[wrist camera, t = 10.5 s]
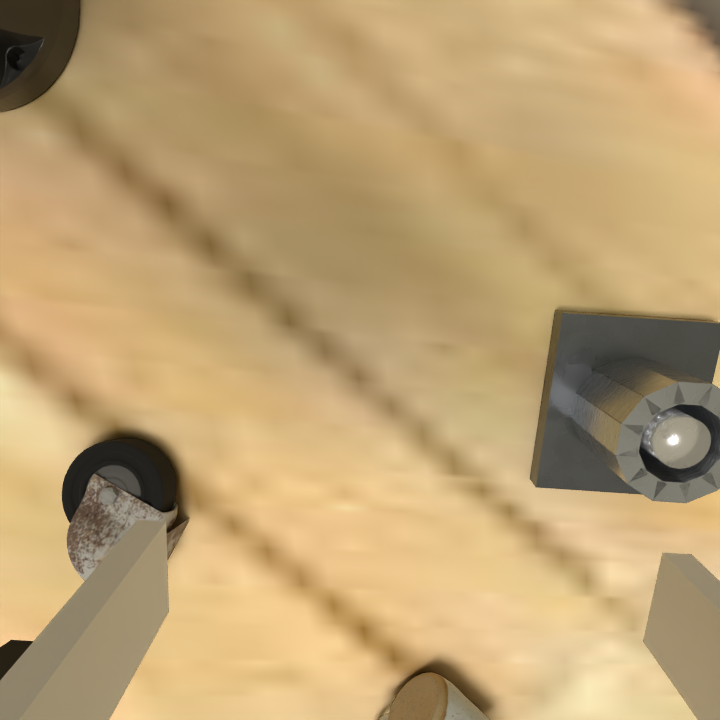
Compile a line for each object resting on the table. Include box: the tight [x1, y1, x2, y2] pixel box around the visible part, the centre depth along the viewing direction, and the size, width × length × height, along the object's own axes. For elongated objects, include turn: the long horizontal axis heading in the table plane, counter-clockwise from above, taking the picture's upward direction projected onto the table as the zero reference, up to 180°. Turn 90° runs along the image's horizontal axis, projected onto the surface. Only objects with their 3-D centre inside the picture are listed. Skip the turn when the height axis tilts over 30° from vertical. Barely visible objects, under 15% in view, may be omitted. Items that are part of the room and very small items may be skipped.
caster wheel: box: [62, 438, 189, 581], centre depth 40 cm, size 7×11×10 cm
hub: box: [572, 358, 720, 503], centre depth 35 cm, size 8×8×7 cm
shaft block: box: [530, 311, 720, 494], centre depth 35 cm, size 14×12×8 cm
